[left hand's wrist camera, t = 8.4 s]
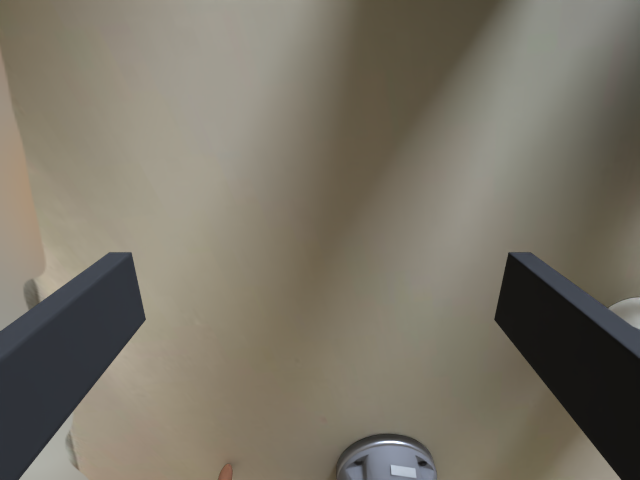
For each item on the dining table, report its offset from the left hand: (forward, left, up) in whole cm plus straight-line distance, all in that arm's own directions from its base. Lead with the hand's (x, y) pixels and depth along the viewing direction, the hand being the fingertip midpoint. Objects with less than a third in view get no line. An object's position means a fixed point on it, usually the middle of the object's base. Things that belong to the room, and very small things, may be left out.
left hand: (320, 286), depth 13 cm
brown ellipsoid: (-47, +13, -28) cm, 56 cm away
